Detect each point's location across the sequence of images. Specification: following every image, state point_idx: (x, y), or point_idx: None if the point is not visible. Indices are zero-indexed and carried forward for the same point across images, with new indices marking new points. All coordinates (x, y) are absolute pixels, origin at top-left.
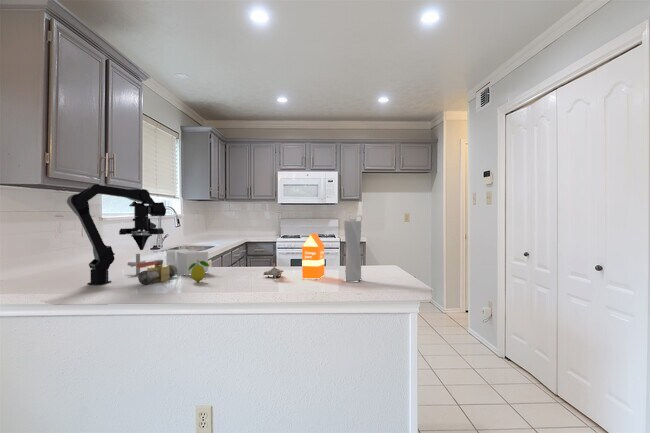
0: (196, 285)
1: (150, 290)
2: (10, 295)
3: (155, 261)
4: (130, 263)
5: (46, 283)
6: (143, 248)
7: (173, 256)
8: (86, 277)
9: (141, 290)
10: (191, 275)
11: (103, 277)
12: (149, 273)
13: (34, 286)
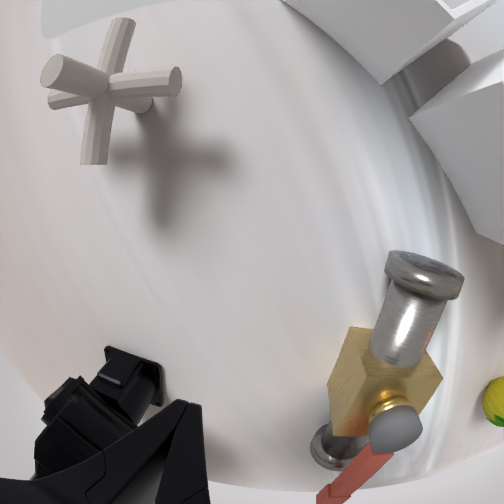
0: (475, 417)
1: None
2: None
3: (383, 464)
4: (64, 105)
5: (10, 319)
6: (201, 419)
7: (405, 15)
8: (12, 218)
9: None
10: (484, 410)
11: (148, 406)
12: None
13: (25, 356)
